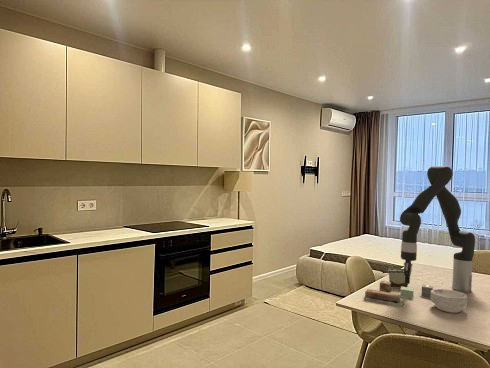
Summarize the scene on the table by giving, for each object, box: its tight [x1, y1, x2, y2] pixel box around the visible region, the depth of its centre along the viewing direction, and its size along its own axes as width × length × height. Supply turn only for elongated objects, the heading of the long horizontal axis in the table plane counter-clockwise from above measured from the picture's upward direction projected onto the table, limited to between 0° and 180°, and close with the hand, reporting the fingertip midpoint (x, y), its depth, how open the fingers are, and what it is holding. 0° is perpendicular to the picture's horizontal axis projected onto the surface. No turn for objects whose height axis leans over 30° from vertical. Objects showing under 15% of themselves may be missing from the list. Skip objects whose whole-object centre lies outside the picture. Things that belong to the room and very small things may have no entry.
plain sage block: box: [399, 286, 414, 299], centre depth 188 cm, size 6×6×4 cm
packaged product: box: [363, 288, 405, 308], centre depth 179 cm, size 18×5×10 cm
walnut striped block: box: [378, 280, 392, 293], centre depth 194 cm, size 5×5×5 cm
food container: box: [387, 267, 412, 289], centre depth 205 cm, size 12×6×10 cm, turn 84°
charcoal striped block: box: [421, 284, 434, 298], centre depth 190 cm, size 5×5×5 cm
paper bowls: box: [429, 288, 468, 314], centre depth 170 cm, size 15×15×8 cm
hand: (407, 283), depth 188 cm, fingers closed
